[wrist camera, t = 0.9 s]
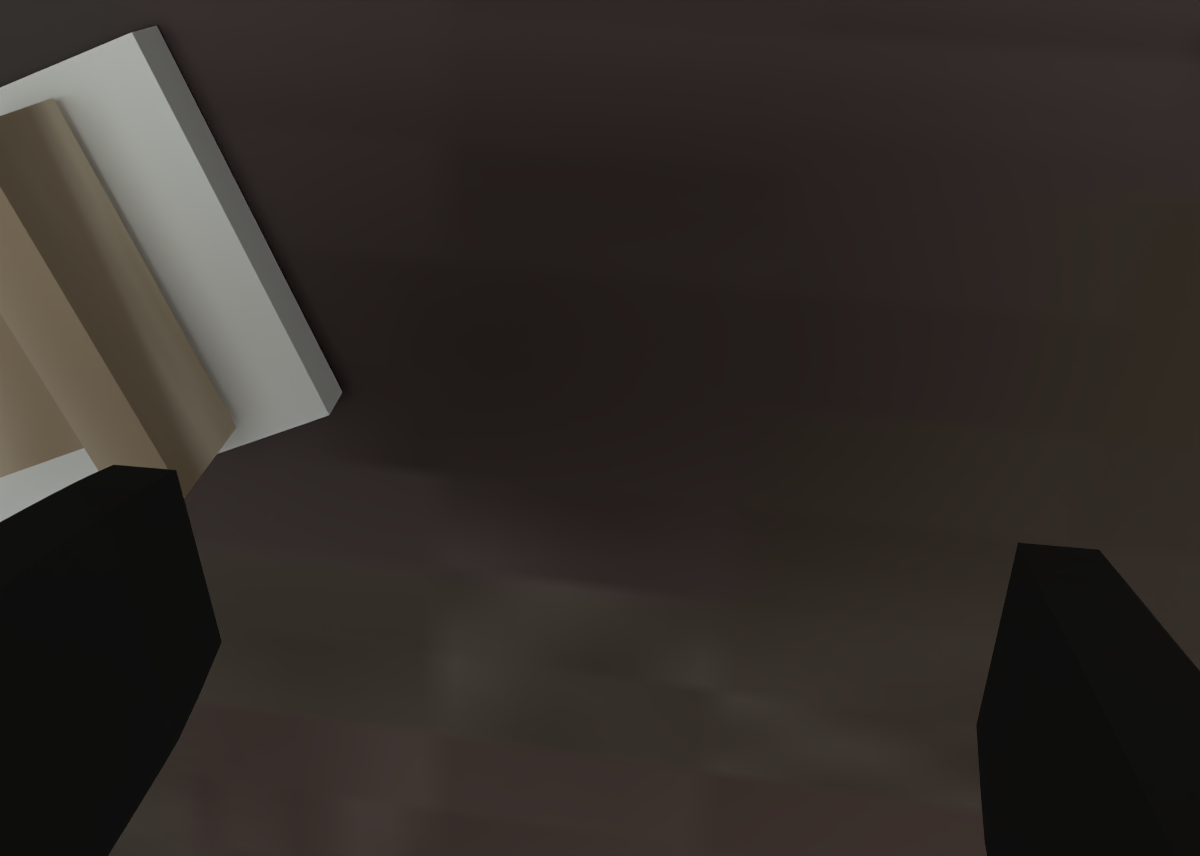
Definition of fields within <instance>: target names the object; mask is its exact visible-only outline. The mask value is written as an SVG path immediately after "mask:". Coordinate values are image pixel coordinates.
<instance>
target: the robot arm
mask: <svg viewBox="0 0 1200 856" xmlns="http://www.w3.org/2000/svg"><path fill="white" fill-rule="evenodd" d="M220 644H221V638H220V634H219V630H218V627H217V623H216V619H215V615H214V611H213V608H212V604H211V600H210V596H209V592H208V589H207V585H206V581H205V577H204V573H203V570H202V566H201V562H200V558H199V555H198V551H197V547H196V543H195V539H194V536H193V532H192V528H191V524H190V520H189V517H188V513H187V509H186V505H185V501H184V498H183V494H182V490H181V486H180V482H179V479H178V475H177V471H176V470H170V469H159V468H147V467H136V466H124V465H112V466H109V467H107V468H105V469H103V470H100V471H98V472H96V473H94V474H91V475H89V476H87V477H85V478H83V479H81V480H79V481H77V482H75V483H73V484H71V485H69V486H67V487H65V488H63V489H61V490H59V491H57V492H55V493H53V494H51V495H49V496H48V497H46V498H44V499H42V500H40V501H38V502H36V503H34V504H33V505H31V506H29V507H27V508H25V509H23V510H21V511H20V512H18V513H16V514H14V515H12V516H10V517H9V518H7V519H5V520H3V521H1V522H0V856H108V855H109V853H110V851H111V850H112V848H113V847H114V845H115V843H116V842H117V840H118V839H119V837H120V835H121V834H122V832H123V831H124V829H125V827H126V826H127V824H128V823H129V821H130V819H131V818H132V816H133V814H134V813H135V811H136V810H137V808H138V806H139V805H140V803H141V801H142V800H143V798H144V796H145V795H146V793H147V791H148V790H149V788H150V787H151V785H152V783H153V782H154V780H155V778H156V777H157V775H158V773H159V772H160V770H161V768H162V767H163V765H164V763H165V762H166V760H167V758H168V757H169V755H170V753H171V752H172V750H173V748H174V746H175V745H176V743H177V741H178V739H179V737H180V735H181V733H182V731H183V729H184V726H185V724H186V722H187V720H188V718H189V716H190V714H191V711H192V709H193V707H194V705H195V703H196V701H197V699H198V696H199V694H200V692H201V689H202V687H203V685H204V682H205V680H206V677H207V675H208V673H209V670H210V668H211V666H212V663H213V661H214V658H215V656H216V654H217V651H218V649H219V647H220ZM977 740H978V756H979V772H980V788H981V800H982V813H983V825H984V838H985V846H986V851H987V856H1200V671H1199V669H1198V668H1197V667H1196V666H1195V665H1194V663H1193V662H1192V661H1191V660H1190V659H1189V657H1188V656H1187V655H1186V654H1185V653H1184V651H1183V650H1182V649H1181V648H1180V647H1179V645H1178V644H1177V643H1176V642H1175V641H1174V640H1173V638H1172V637H1171V636H1170V635H1169V633H1168V632H1167V631H1166V630H1165V629H1164V627H1163V626H1162V625H1161V624H1160V623H1159V621H1158V620H1157V619H1156V618H1155V617H1154V615H1153V614H1152V613H1151V612H1150V610H1149V609H1148V608H1147V607H1146V606H1145V604H1144V603H1143V602H1142V601H1141V599H1140V598H1139V597H1138V596H1137V595H1136V593H1135V592H1134V591H1133V590H1132V589H1131V587H1130V586H1129V585H1128V584H1127V583H1126V581H1125V580H1124V579H1123V578H1122V577H1121V575H1120V574H1119V573H1118V572H1117V571H1116V569H1115V568H1114V567H1113V566H1112V565H1111V563H1110V562H1109V561H1108V560H1107V559H1106V558H1105V556H1104V555H1103V554H1102V553H1101V552H1100V550H1095V549H1083V548H1072V547H1060V546H1049V545H1037V544H1026V543H1018V546H1017V550H1016V555H1015V559H1014V563H1013V568H1012V572H1011V576H1010V581H1009V585H1008V590H1007V594H1006V598H1005V603H1004V607H1003V611H1002V616H1001V620H1000V625H999V629H998V633H997V638H996V642H995V647H994V651H993V655H992V660H991V664H990V668H989V673H988V677H987V682H986V686H985V690H984V695H983V699H982V704H981V708H980V712H979V717H978V721H977Z"/></svg>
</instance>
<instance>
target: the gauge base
mask: <svg viewBox="0 0 1200 856" xmlns="http://www.w3.org/2000/svg"><path fill="white" fill-rule="evenodd" d="M51 98H53V99H54V101H55V103H56V104H57V106H58V108H59V110H60V112H61V113H62V115H63V117H64V119H65V121H66V122H67V124H68V126H69V128H70V130H71V131H72V133H73V135H74V137H75V139H76V140H77V142H78V144H79V146H80V148H81V149H82V151H83V153H84V155H85V156H86V158H87V160H88V162H89V164H90V165H91V167H92V169H93V171H94V173H95V174H96V176H97V178H98V180H99V182H100V183H101V185H102V187H103V189H104V191H105V192H106V194H107V196H108V198H109V200H110V201H111V203H112V205H113V207H114V209H115V210H116V212H117V214H118V216H119V218H120V219H121V221H122V223H123V225H124V227H125V228H126V230H127V232H128V234H129V236H130V237H131V239H132V241H133V243H134V245H135V246H136V248H137V250H138V252H139V254H140V255H141V257H142V259H143V261H144V263H145V264H146V266H147V268H148V270H149V271H150V273H151V275H152V277H153V279H154V280H155V282H156V284H157V286H158V288H159V289H160V291H161V293H162V295H163V297H164V298H165V300H166V302H167V304H168V306H169V307H170V309H171V311H172V313H173V315H174V316H175V318H176V320H177V322H178V324H179V325H180V327H181V329H182V331H183V333H184V334H185V336H186V338H187V340H188V342H189V343H190V345H191V347H192V349H193V351H194V352H195V354H196V356H197V358H198V360H199V361H200V363H201V365H202V367H203V369H204V370H205V372H206V374H207V376H208V378H209V379H210V381H211V383H212V385H213V386H214V388H215V390H216V392H217V394H218V395H219V397H220V399H221V401H222V403H223V404H224V406H225V408H226V410H227V412H228V413H229V415H230V417H231V419H232V421H233V422H234V424H235V426H236V429H235V430H234V431H233V433H232V434H231V436H230V437H229V438H228V440H227V441H226V442H225V444H224V445H223V446H222V448H221V449H220V451H219V452H218V453H217V454H219V453H221V452H224V451H227V450H230V449H233V448H236V447H239V446H242V445H245V444H247V443H250V442H253V441H256V440H259V439H262V438H265V437H268V436H271V435H274V434H276V433H279V432H282V431H285V430H288V429H291V428H294V427H297V426H300V425H302V424H305V423H308V422H311V421H314V420H317V419H320V418H323V417H326V416H329V415H330V413H331V412H332V410H333V408H334V406H335V405H336V403H337V401H338V399H339V398H340V396H341V394H342V390H341V388H340V386H339V384H338V382H337V380H336V378H335V376H334V374H333V373H332V371H331V369H330V367H329V365H328V363H327V361H326V359H325V357H324V355H323V353H322V351H321V349H320V347H319V345H318V343H317V341H316V339H315V337H314V335H313V333H312V331H311V329H310V327H309V325H308V323H307V321H306V319H305V317H304V315H303V313H302V311H301V309H300V307H299V305H298V303H297V301H296V299H295V297H294V295H293V294H292V292H291V290H290V288H289V286H288V284H287V282H286V280H285V278H284V276H283V274H282V272H281V270H280V268H279V266H278V264H277V262H276V260H275V258H274V256H273V254H272V252H271V250H270V248H269V246H268V244H267V242H266V240H265V238H264V236H263V234H262V232H261V230H260V228H259V226H258V224H257V222H256V220H255V218H254V216H253V214H252V213H251V211H250V209H249V207H248V205H247V203H246V201H245V199H244V197H243V195H242V193H241V191H240V189H239V187H238V185H237V183H236V181H235V179H234V177H233V175H232V173H231V171H230V169H229V167H228V165H227V163H226V161H225V159H224V157H223V155H222V153H221V151H220V149H219V147H218V145H217V143H216V141H215V139H214V137H213V135H212V134H211V132H210V130H209V128H208V126H207V124H206V122H205V120H204V118H203V116H202V114H201V112H200V110H199V108H198V106H197V104H196V102H195V100H194V98H193V96H192V94H191V92H190V90H189V88H188V86H187V84H186V82H185V80H184V78H183V76H182V74H181V72H180V70H179V68H178V66H177V64H176V62H175V60H174V58H173V56H172V55H171V53H170V51H169V49H168V47H167V45H166V43H165V41H164V39H163V37H162V35H161V33H160V31H159V29H158V27H157V26H153V27H150V28H146V29H142V30H139V31H135V32H131V33H129V34H127V35H124V36H122V37H119V38H117V39H115V40H112V41H110V42H108V43H105V44H103V45H100V46H98V47H96V48H93V49H91V50H89V51H86V52H84V53H81V54H79V55H77V56H74V57H72V58H70V59H67V60H65V61H62V62H60V63H58V64H55V65H53V66H51V67H48V68H46V69H43V70H41V71H39V72H36V73H34V74H32V75H29V76H27V77H24V78H22V79H20V80H17V81H15V82H13V83H10V84H8V85H5V86H3V87H1V88H0V116H2V115H5V114H8V113H10V112H13V111H16V110H19V109H22V108H25V107H28V106H31V105H34V104H36V103H39V102H42V101H45V100H48V99H51ZM96 472H98V469H97V468H96V466H95V465H94V463H93V461H92V460H91V458H90V456H89V455H88V453H87V452H86V450H85V448H83V449H80V450H77V451H74V452H71V453H68V454H66V455H63V456H60V457H57V458H54V459H51V460H49V461H46V462H43V463H40V464H37V465H35V466H32V467H29V468H26V469H23V470H20V471H18V472H15V473H12V474H9V475H6V476H3V477H1V478H0V522H1V521H3V520H5V519H7V518H9V517H10V516H12V515H14V514H16V513H18V512H20V511H21V510H23V509H25V508H27V507H29V506H31V505H33V504H34V503H36V502H38V501H40V500H42V499H44V498H46V497H48V496H49V495H51V494H53V493H55V492H57V491H59V490H61V489H63V488H65V487H67V486H69V485H71V484H73V483H75V482H77V481H79V480H81V479H83V478H85V477H87V476H89V475H91V474H94V473H96Z"/></svg>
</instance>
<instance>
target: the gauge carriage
mask: <svg viewBox="0 0 1200 856" xmlns="http://www.w3.org/2000/svg"><path fill="white" fill-rule="evenodd" d="M235 429H236V426H235V424H234V422H233V421H232V419H231V417H230V415H229V413H228V412H227V410H226V408H225V406H224V404H223V403H222V401H221V399H220V397H219V395H218V394H217V392H216V390H215V388H214V386H213V385H212V383H211V381H210V379H209V378H208V376H207V374H206V372H205V370H204V369H203V367H202V365H201V363H200V361H199V360H198V358H197V356H196V354H195V352H194V351H193V349H192V347H191V345H190V343H189V342H188V340H187V338H186V336H185V334H184V333H183V331H182V329H181V327H180V325H179V324H178V322H177V320H176V318H175V316H174V315H173V313H172V311H171V309H170V307H169V306H168V304H167V302H166V300H165V298H164V297H163V295H162V293H161V291H160V289H159V288H158V286H157V284H156V282H155V280H154V279H153V277H152V275H151V273H150V271H149V270H148V268H147V266H146V264H145V263H144V261H143V259H142V257H141V255H140V254H139V252H138V250H137V248H136V246H135V245H134V243H133V241H132V239H131V237H130V236H129V234H128V232H127V230H126V228H125V227H124V225H123V223H122V221H121V219H120V218H119V216H118V214H117V212H116V210H115V209H114V207H113V205H112V203H111V201H110V200H109V198H108V196H107V194H106V192H105V191H104V189H103V187H102V185H101V183H100V182H99V180H98V178H97V176H96V174H95V173H94V171H93V169H92V167H91V165H90V164H89V162H88V160H87V158H86V156H85V155H84V153H83V151H82V149H81V148H80V146H79V144H78V142H77V140H76V139H75V137H74V135H73V133H72V131H71V130H70V128H69V126H68V124H67V122H66V121H65V119H64V117H63V115H62V113H61V112H60V110H59V108H58V106H57V104H56V103H55V101H54V99H53V98H51V99H48V100H45V101H42V102H39V103H36V104H34V105H31V106H28V107H25V108H22V109H19V110H16V111H13V112H10V113H8V114H5V115H2V116H0V478H1V477H3V476H6V475H9V474H12V473H15V472H18V471H20V470H23V469H26V468H29V467H32V466H35V465H37V464H40V463H43V462H46V461H49V460H51V459H54V458H57V457H60V456H63V455H66V454H68V453H71V452H74V451H77V450H80V449H83V448H85V450H86V452H87V453H88V455H89V456H90V458H91V460H92V461H93V463H94V465H95V466H96V468H97V469H98V471H100V470H103V469H105V468H107V467H109V466H112V465H124V466H136V467H147V468H159V469H170V470H176V471H177V475H178V479H179V482H180V486H181V490H182V494H183V498H185V497H186V496H187V494H188V493H189V491H190V490H191V489H192V487H193V486H194V485H195V483H196V482H197V481H198V479H199V478H200V476H201V475H202V474H203V472H204V471H205V470H206V468H207V467H208V466H209V464H210V463H211V461H212V460H213V459H214V457H215V456H216V455H217V453H218V452H219V451H220V449H221V448H222V446H223V445H224V444H225V442H226V441H227V440H228V438H229V437H230V436H231V434H232V433H233V431H234V430H235Z"/></svg>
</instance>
